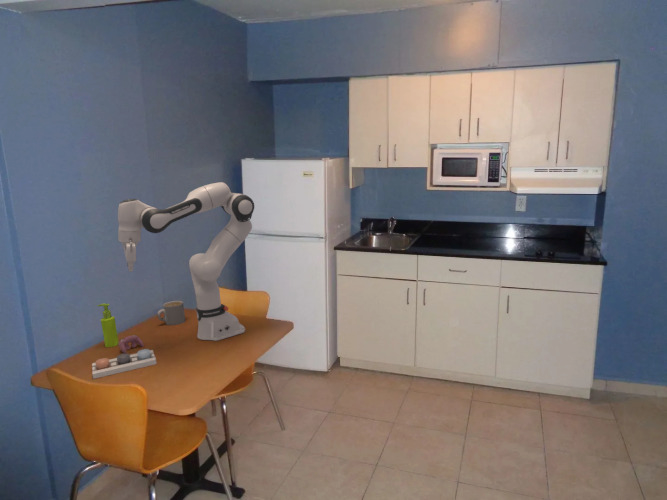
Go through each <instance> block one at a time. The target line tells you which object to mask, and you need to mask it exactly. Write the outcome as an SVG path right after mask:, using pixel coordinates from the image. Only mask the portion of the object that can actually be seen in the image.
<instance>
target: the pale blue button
mask: <svg viewBox="0 0 667 500" xmlns="http://www.w3.org/2000/svg"><path fill="white" fill-rule="evenodd" d="M136 354H138V360H137V361H140V360H145V359H149V358H152V357H151V355H150V349H149V348H143V349H140V350H137V352H136Z"/></svg>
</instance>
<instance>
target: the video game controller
mask: <svg viewBox="0 0 667 500" xmlns="http://www.w3.org/2000/svg"><path fill="white" fill-rule="evenodd" d="M118 342H119V343H118V345H117V346H118V347H119V348H120V350H121V352H122V354H125V353H127V351H128V350H130V349H131V348H136V347H137V344H138V345H139V346H140V347H142V348H143V347H144V342H143V340H142V339H141V338H140V336H138V335H134V334H133V335H129V336H128V335H127V336H125V337H124V338H122V339H121V340H118ZM129 343H131V344H129Z"/></svg>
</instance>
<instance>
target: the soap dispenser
mask: <svg viewBox="0 0 667 500" xmlns="http://www.w3.org/2000/svg"><path fill="white" fill-rule="evenodd" d="M96 306H97V307H103V310H102V316H103V317H102V318H101V319H100V323H101V330H102V337H103V340H104V347H106V348H113V347H117V346H119V345H118V343H119V336H118V329H117V323H116V318H115V316H112V311H111V310H110V309H109V306H110V303H99V304H98V305H96Z"/></svg>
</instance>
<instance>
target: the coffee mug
mask: <svg viewBox="0 0 667 500" xmlns="http://www.w3.org/2000/svg"><path fill="white" fill-rule="evenodd" d="M184 307H185V306H184V301H181V300H172V301H168V302H165V303H164V304H162V309H160V310H158V311H157V314H156V315H157V318H158V320H159V321H161V322H165V325H167V326H176V325H177V326H178V325H180V324H183V323H185V322H186V314H185V308H184ZM162 313H163V317H161V314H162Z"/></svg>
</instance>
